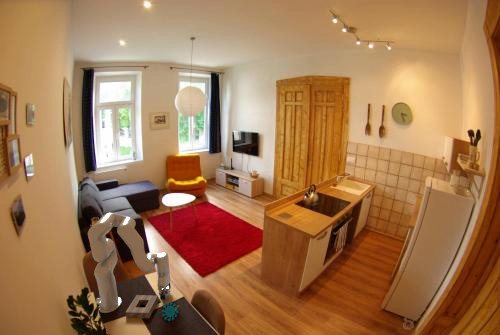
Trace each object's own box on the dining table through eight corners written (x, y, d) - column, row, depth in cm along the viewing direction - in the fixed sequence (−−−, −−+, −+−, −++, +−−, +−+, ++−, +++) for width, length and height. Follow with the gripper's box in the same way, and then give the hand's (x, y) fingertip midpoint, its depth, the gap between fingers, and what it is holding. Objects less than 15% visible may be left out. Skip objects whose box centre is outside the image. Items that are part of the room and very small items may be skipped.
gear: (166, 323, 145) (160, 306, 149) (162, 326, 149) (156, 308, 152) (182, 314, 154) (176, 298, 157) (178, 317, 157) (172, 300, 161)
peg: (161, 300, 165) (160, 290, 164) (163, 295, 170) (163, 286, 168) (168, 300, 165) (167, 291, 163) (170, 295, 169) (169, 286, 168)
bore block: (126, 317, 151) (125, 312, 150) (137, 300, 165) (136, 295, 164) (149, 318, 151) (148, 312, 150) (158, 300, 165) (157, 295, 164)
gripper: (162, 263, 171) (164, 284, 175) (152, 280, 154) (154, 303, 158) (173, 263, 171) (175, 285, 175) (164, 280, 154) (166, 304, 158)
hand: (165, 293), depth 167 cm, fingers open, 9 cm apart
